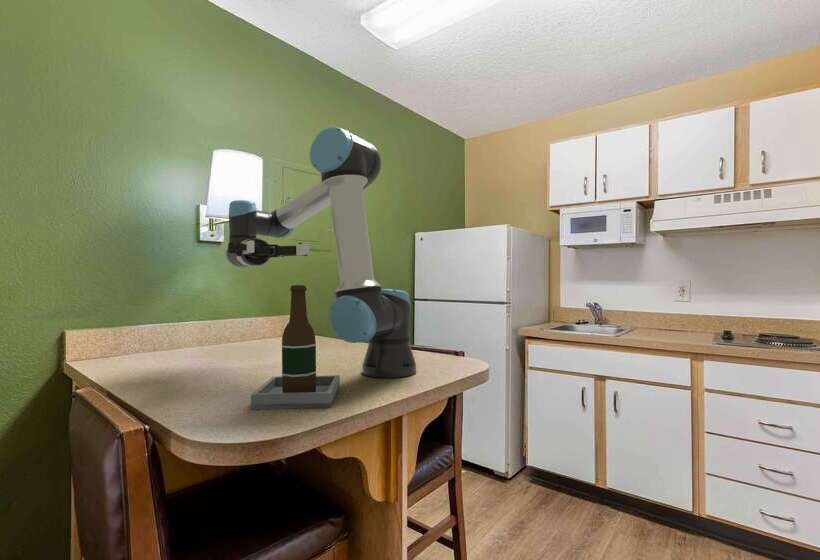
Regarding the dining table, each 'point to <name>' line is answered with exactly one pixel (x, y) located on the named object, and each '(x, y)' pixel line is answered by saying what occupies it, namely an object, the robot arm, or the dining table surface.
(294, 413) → the dining table surface
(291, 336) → the beer bottle
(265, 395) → the tray
